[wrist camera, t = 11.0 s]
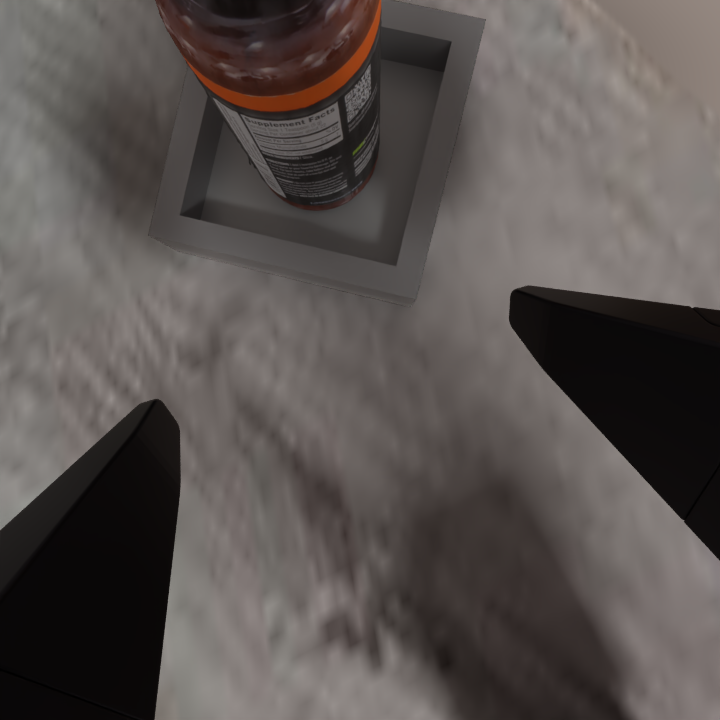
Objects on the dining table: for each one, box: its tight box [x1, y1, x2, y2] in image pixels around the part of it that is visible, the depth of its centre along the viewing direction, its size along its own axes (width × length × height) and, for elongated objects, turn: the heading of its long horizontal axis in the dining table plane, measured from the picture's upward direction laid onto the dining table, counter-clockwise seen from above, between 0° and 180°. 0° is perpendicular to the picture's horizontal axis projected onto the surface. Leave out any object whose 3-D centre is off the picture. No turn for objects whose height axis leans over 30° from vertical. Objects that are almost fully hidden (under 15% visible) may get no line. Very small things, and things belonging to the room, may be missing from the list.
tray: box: [148, 0, 486, 307], centre depth 17 cm, size 12×12×2 cm
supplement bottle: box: [155, 0, 382, 211], centre depth 12 cm, size 6×6×11 cm
